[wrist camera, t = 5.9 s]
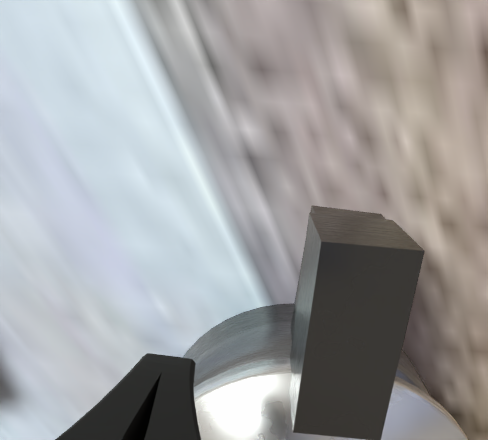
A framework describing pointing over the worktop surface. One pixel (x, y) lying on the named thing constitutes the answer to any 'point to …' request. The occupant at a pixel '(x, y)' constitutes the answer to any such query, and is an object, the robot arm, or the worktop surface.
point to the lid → (335, 350)
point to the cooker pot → (266, 334)
